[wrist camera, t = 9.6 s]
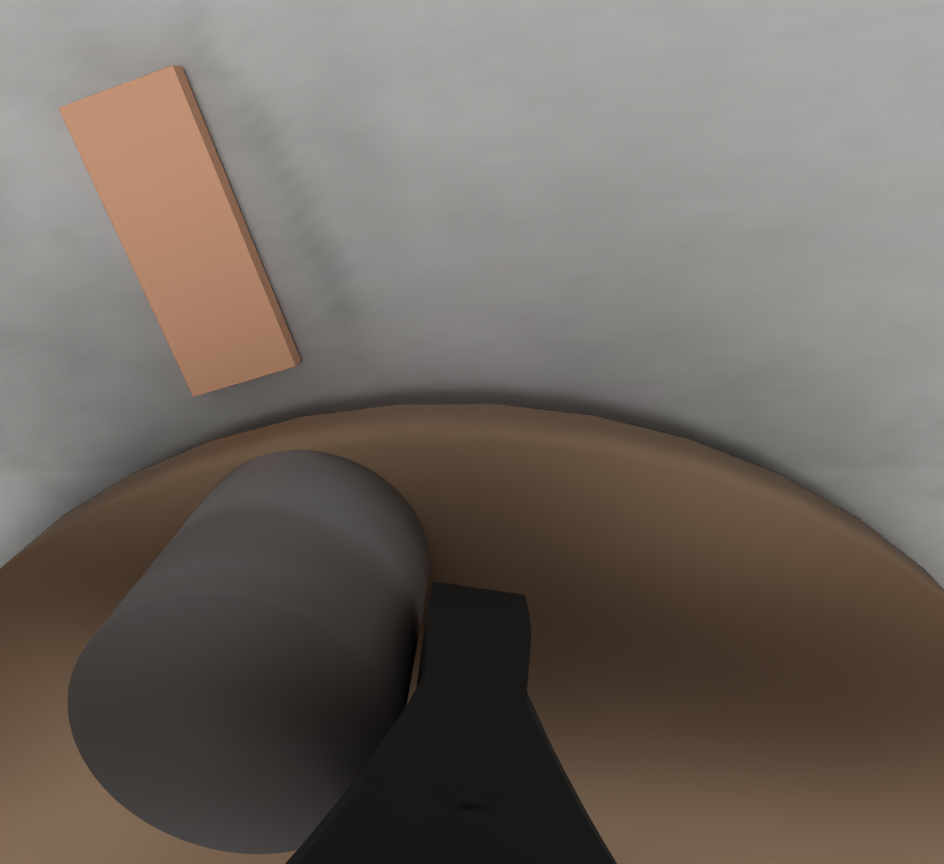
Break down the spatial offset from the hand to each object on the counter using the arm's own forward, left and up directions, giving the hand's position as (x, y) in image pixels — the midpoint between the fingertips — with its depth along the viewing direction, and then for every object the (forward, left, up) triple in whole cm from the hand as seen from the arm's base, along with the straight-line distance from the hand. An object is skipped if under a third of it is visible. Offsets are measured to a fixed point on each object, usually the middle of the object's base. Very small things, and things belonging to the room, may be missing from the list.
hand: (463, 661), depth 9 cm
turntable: (-8, +1, -3) cm, 9 cm away
